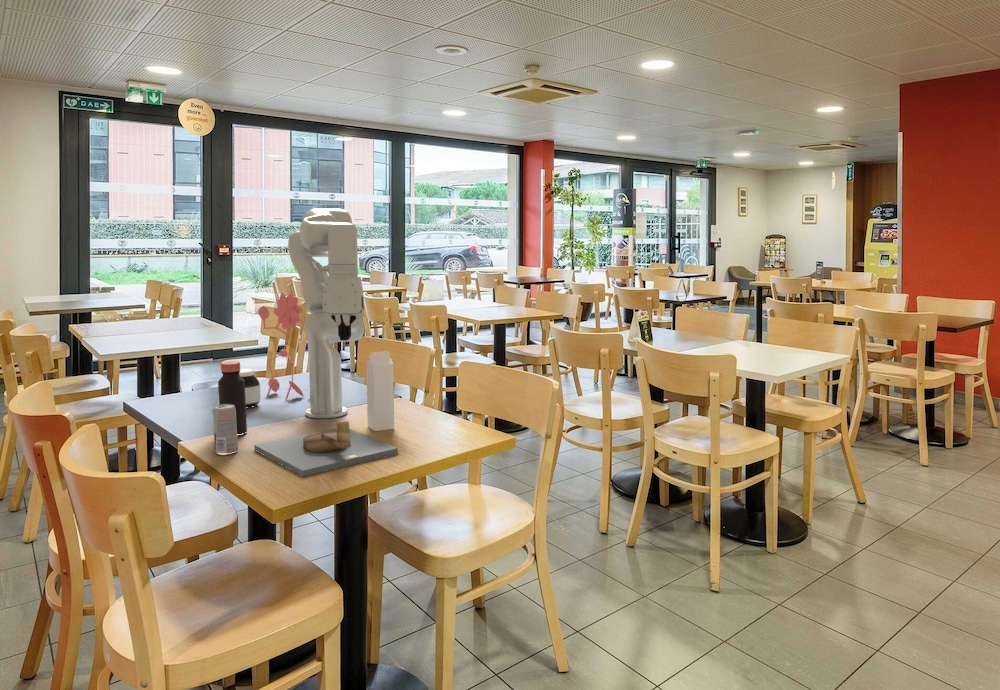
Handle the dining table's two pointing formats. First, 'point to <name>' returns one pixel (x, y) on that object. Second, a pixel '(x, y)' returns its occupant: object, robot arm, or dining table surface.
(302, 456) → the base plate
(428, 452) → the dining table surface
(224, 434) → the energy drink
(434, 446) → the dining table surface
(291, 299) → the pink flower figure
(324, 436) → the dial
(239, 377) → the bottle
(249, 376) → the spread jar
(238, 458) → the dining table surface
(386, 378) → the milk
